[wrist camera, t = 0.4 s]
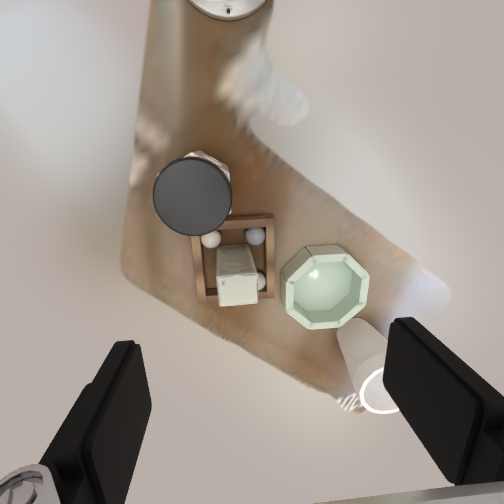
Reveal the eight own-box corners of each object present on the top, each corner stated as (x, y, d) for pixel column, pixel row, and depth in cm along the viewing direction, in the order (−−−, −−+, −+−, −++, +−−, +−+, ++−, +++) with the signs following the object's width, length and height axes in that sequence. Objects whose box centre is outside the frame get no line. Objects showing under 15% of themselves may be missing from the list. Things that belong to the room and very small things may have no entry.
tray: (191, 218, 42) (189, 223, 40) (271, 214, 43) (274, 218, 41) (199, 295, 47) (198, 303, 44) (272, 290, 48) (274, 297, 45)
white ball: (246, 269, 46) (247, 277, 43) (264, 267, 46) (267, 276, 43) (246, 285, 47) (248, 294, 44) (265, 284, 47) (267, 293, 44)
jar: (243, 172, 40) (250, 184, 29) (217, 222, 43) (214, 250, 31) (184, 139, 38) (167, 138, 27) (160, 193, 40) (135, 213, 29)
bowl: (281, 247, 45) (286, 257, 41) (360, 243, 46) (372, 251, 42) (280, 317, 50) (285, 331, 46) (353, 311, 51) (363, 325, 47)
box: (218, 270, 45) (216, 307, 35) (216, 244, 44) (213, 276, 34) (251, 268, 46) (258, 304, 35) (250, 242, 44) (258, 273, 34)
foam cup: (368, 355, 55) (408, 415, 42) (322, 350, 53) (351, 412, 41) (384, 313, 51) (434, 365, 39) (336, 307, 50) (372, 360, 38)
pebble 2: (244, 223, 43) (245, 229, 40) (263, 222, 43) (266, 227, 40) (245, 242, 44) (246, 249, 41) (264, 241, 44) (266, 247, 42)
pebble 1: (200, 225, 43) (198, 231, 40) (220, 224, 43) (220, 230, 40) (202, 244, 44) (200, 251, 41) (221, 243, 44) (221, 250, 41)
